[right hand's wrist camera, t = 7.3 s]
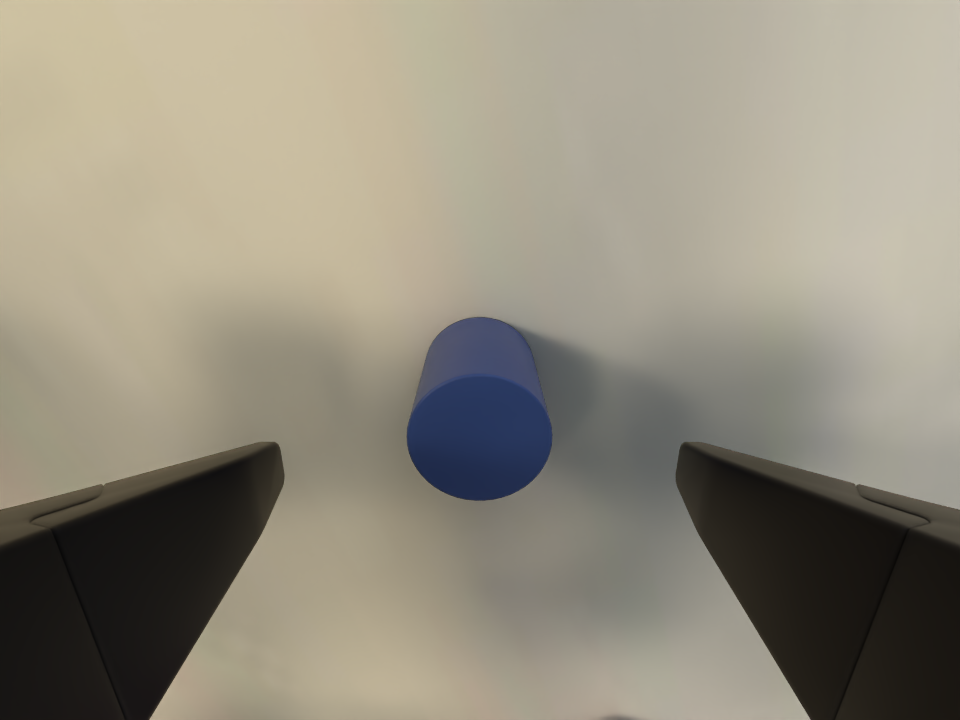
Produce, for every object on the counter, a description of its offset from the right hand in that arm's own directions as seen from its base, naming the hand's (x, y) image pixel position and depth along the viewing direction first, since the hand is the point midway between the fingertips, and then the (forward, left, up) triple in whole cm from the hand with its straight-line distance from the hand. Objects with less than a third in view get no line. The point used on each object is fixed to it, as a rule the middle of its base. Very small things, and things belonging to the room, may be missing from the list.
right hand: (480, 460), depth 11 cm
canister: (0, 0, -5) cm, 5 cm away
